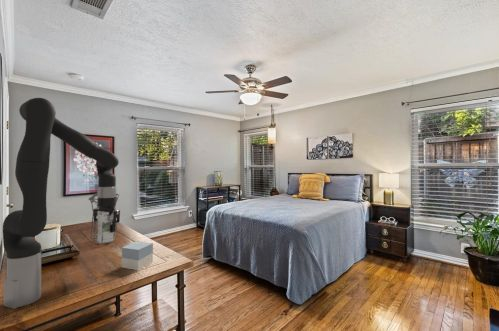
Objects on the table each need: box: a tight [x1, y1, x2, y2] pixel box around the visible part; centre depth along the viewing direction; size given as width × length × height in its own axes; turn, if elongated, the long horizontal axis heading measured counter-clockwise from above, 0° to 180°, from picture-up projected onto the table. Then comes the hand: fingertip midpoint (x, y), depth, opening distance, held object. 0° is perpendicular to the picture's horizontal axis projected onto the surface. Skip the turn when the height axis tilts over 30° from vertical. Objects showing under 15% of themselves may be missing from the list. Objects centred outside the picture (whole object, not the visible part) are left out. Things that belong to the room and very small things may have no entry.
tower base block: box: [121, 252, 154, 271], centre depth 120 cm, size 10×10×5 cm
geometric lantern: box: [88, 191, 120, 245], centre depth 154 cm, size 16×16×35 cm
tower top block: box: [121, 241, 154, 260], centre depth 121 cm, size 10×10×5 cm
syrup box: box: [96, 211, 116, 245], centre depth 112 cm, size 6×6×14 cm
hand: (106, 231), depth 112 cm, fingers closed on syrup box, 7 cm apart
